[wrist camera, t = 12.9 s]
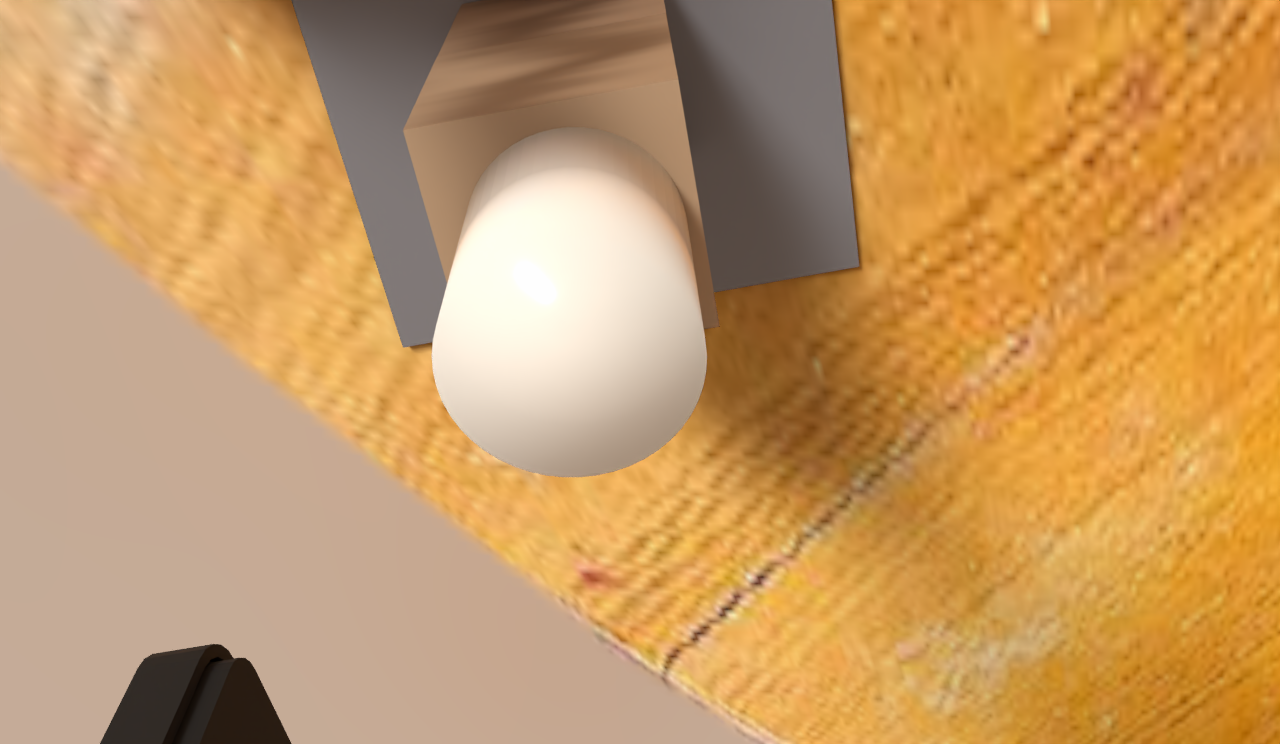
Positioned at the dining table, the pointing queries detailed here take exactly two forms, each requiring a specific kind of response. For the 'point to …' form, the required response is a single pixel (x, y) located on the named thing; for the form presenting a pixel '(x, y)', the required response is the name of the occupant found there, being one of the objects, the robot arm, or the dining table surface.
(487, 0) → the block
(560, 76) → the tower top
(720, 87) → the mat
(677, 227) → the ceramic cylinder
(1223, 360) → the dining table surface
